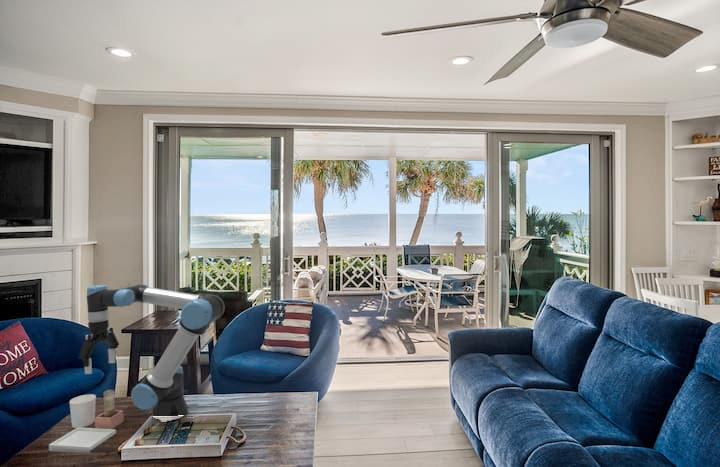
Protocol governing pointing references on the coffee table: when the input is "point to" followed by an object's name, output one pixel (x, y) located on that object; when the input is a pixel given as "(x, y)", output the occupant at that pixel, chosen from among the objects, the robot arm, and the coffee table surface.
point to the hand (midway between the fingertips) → (100, 368)
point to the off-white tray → (81, 440)
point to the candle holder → (82, 410)
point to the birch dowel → (109, 403)
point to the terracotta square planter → (109, 420)
